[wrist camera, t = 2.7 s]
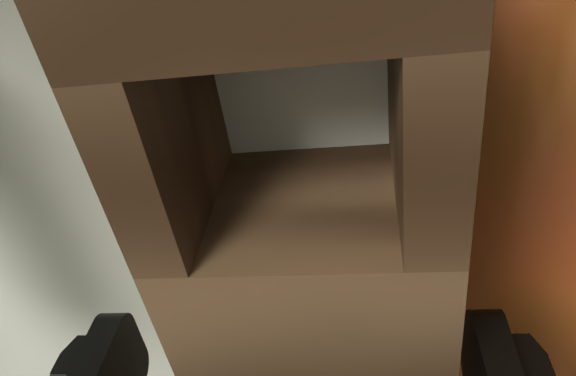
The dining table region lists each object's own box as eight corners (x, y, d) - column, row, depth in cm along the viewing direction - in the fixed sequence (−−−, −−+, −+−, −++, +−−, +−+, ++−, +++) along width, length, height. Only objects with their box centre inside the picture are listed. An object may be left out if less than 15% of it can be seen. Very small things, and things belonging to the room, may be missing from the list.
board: (448, -185, 9) (461, -185, 8) (428, 355, 17) (432, 387, 17) (-437, -46, 12) (-506, -33, 11) (-86, 354, 21) (-107, 381, 20)
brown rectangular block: (127, -67, 9) (12, -4, 6) (445, -109, 9) (501, -62, 5) (251, 367, 17) (227, 498, 14) (426, 368, 16) (446, 508, 13)
